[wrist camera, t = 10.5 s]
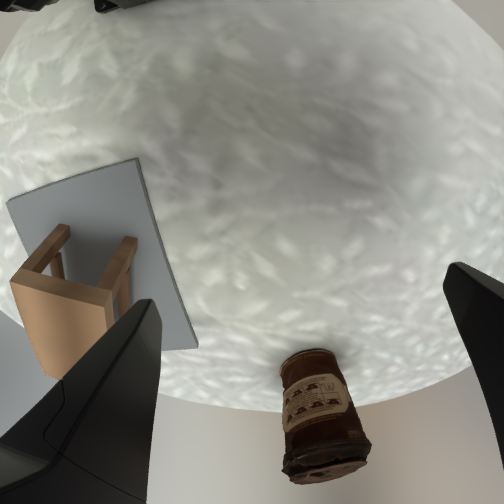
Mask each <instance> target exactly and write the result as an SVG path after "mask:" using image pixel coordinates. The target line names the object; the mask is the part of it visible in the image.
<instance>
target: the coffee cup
mask: <svg viewBox="0 0 504 504" xmlns="http://www.w3.org/2000/svg"><path fill="white" fill-rule="evenodd" d="M279 374H280V376H281V378H282V382H283V387H284V388H285V390H284V392H283V414H282V424H283V430H284V432H285V446H286V448H285V452H286V453H285V455H284V459H283V469H282V472H283V473H285V474H286V475H288V476H289V478H290V481H291V482H294V483H295V484H301V485H303V484H312V483H321V482H325V481H329V480H333V479H336V478H340V477H342V476H345V475H347V474H349V473H352V472H355V471H356V470H358V468H361V467H363V466H364V465H366V464H367V462H366V458H367V455H368V454H369V452H370V450H371V446H372V444H371V443H370V441H369V440H368V439H367V438H366V435H365V433H364V431H363V428H362V425H361V422H360V419H359V417H358V414H357V412H356V409H355V407H354V404H353V401H352V399H351V396H350V394H349V392H348V388H347V384H346V381H345V379H344V377H343V375H342V373H341V371H340V369H339V367H338V364H337V362H336V358H335V356H334V354H333V353H331V352H328V351H324V350H312V351H307V352H303V353H300V354H297V355H295V356H294V357H292V358H290V359H289V360H287V361H286V362H285V363H284V364H283V365H282V367H281V370H280V372H279Z"/></svg>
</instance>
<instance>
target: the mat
mask: <svg viewBox="0 0 504 504" xmlns="http://www.w3.org/2000/svg"><path fill="white" fill-rule="evenodd" d="M6 206H7V208H8V211H9V213H10V216H11V218H12V221H13V223H14V225H15V228H16V230H17V232H18V235H19V237H20V239H21V241H22V243H23V246H24V248H25V250H26V252H27V254H28V256H30V255H31V254H32V253H33V252H34V251H35V249H36V248H37V247H38V246H39V245H40V244H41V243H42V242H43V240H44V239H45V238H46V237H47V236H48V235H49V234H50V233H51V232H52V231H53V230H54V229H55V227H56V226H57V225H58V224H59V223H60V224H65V225H70V236H71V237H70V238H69V239H68V240H67V241H66V243H65V244H64V245H63V246H62V248H61V249H60V250H59V251H58V252H61V254H62V262H63V269H64V275H65V280H68V281H72V282H76V283H80V284H84V285H89V286H93V287H96V286H97V284H98V283H99V281H100V279H101V277H102V275H103V273H104V272H105V270H106V268H107V266H108V264H109V263H110V261H111V259H112V257H113V256H114V254H115V252H116V250H117V249H118V247H119V245H120V244H121V242H122V240H123V239H124V237H125V236H129V237H135V238H138V246H137V251H136V253H135V255H134V258H133V260H132V262H131V264H130V266H129V267H130V304H131V307H132V306H133V305H134V304H135V303H136V302H137V301H138V300H139V299H149V298H151V299H153V300H154V302H155V304H156V306H157V309H158V312H159V314H160V317H161V319H162V326H163V327H162V346H161V351H166V350H181V349H195V348H198V341H197V339H196V336H195V334H194V331H193V329H192V326H191V323H190V321H189V318H188V316H187V313H186V310H185V308H184V305H183V302H182V300H181V297H180V294H179V291H178V289H177V286H176V283H175V280H174V277H173V274H172V271H171V269H170V266H169V263H168V260H167V257H166V254H165V251H164V248H163V245H162V241H161V238H160V235H159V232H158V229H157V226H156V222H155V219H154V216H153V212H152V209H151V206H150V202H149V199H148V195H147V192H146V188H145V185H144V181H143V177H142V174H141V170H140V166H139V162H138V158H136V159H132V160H128V161H124V162H120V163H117V164H113V165H110V166H106V167H102V168H99V169H96V170H92V171H89V172H86V173H82V174H79V175H76V176H73V177H70V178H67V179H64V180H61V181H58V182H55V183H52V184H49V185H47V186H44V187H41V188H38V189H36V190H33V191H30V192H28V193H25V194H23V195H20V196H18V197H15V198H13V199H10V200H8V201H7V202H6ZM41 274H44V275H48V276H52V275H51V270H50V264H48V265H47V267H46V268H45V269H44V271H43V272H42V273H41ZM113 315H114V323H115V322H116V321H117V320H118V319H119V311H118V295H117V294H116V297H115V299H114V301H113Z"/></svg>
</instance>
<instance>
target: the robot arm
mask: <svg viewBox="0 0 504 504" xmlns="http://www.w3.org/2000/svg"><path fill="white" fill-rule="evenodd" d="M58 1H59V0H0V11H3V12H15V11H19V10H22V11H29V12H35V11H40V10H41V9H42V8H43V7H44V6H45V5H50V4H54V3H57V2H58ZM147 1H150V0H94V4H95V10H96V11H97V12H98V13H102V14H103V13H106V12H109V11H111V10H114V9H117V8H119V7H122V8H124V9H125V8H128V7H131V6H134V5H137V4H141V3H144V2H147ZM103 4H105V7H104V8H103V9H101V6H102V5H103ZM443 291H444V294H445V296H446V299H447V301H448V304H449V306H450V309H451V312H452V315H453V317H454V320H455V323H456V326H457V328H458V331H459V333H460V336H461V338H462V340H463V342H464V345H465V347H466V349H467V352H468V354H469V357H470V359H471V362H472V364H473V367H474V369H475V372H476V375H477V377H478V380H479V382H480V385H481V388H482V391H483V394H484V397H485V400H486V403H487V406H488V409H489V413H490V416H491V419H492V423H493V426H494V430H495V433H496V438H497V442H498V446H499V450H500V455H501V459H502V464H503V469H504V283H502V282H500V281H498V280H496V279H494V278H492V277H490V276H488V275H487V274H485V273H483V272H481V271H479V270H477V269H475V268H473V267H471V266H469V265H467V264H465V263H463V262H454V263H451V264H450V265H449V267H448V270H447V273H446V276H445V279H444V282H443ZM162 327H163V326H162V319H161V317H160V314H159V312H158V309H157V306H156V304H155V302H154V300H153V299H151V298H149V299H139V300H138V301H137V302H136V303H135V304H134V305H133V306H132V307H131V308H129V309H128V310H127V311H126V312H125V313H124V314H123V315H122V316H121V317H120V318H119V319H118V320H117V321H116V322H115V323H114V324H113V325H112V326H111V327H110V328H109V329H108V330H107V331H106V332H105V333H104V334H103V335H102V336H101V337H100V338H99V339H98V341H97V342H96V343H95V344H94V345H93V346H92V347H91V348H90V349H89V350H88V351H87V352H86V353H85V354H84V355H83V356H82V357H81V358H80V359H79V360H78V361H77V362H76V363H75V364H74V365H73V366H72V367H71V369H70V370H69V371H68V372H67V373H66V374H65V375H64V376H63V377H62V379H60V380H59V381H58V382H57V383H56V384H55V386H54V387H53V388H52V389H51V390H50V391H49V392H48V393H47V394H46V395H45V396H44V397H43V398H42V399H41V400H40V401H39V402H38V403H37V404H36V405H35V406H34V407H33V408H32V409H31V410H30V411H29V412H28V413H26V414H25V415H24V416H23V417H22V418H21V419H20V420H19V421H18V422H17V423H16V424H15V425H14V426H12V427H11V428H10V429H9V430H8V431H7V432H6V433H5V434H4V435H3V436H2V437H1V438H0V504H146V500H147V485H148V472H149V471H148V470H149V460H150V450H151V441H152V432H153V424H154V416H155V415H154V414H155V408H156V400H157V393H158V386H159V379H160V369H161V346H162Z"/></svg>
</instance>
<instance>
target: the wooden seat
mask: <svg viewBox="0 0 504 504" xmlns="http://www.w3.org/2000/svg"><path fill="white" fill-rule="evenodd" d="M70 237H71V236H70V225H65V224H60V223H59V224H58V225H57V226H56V227H55V229H54V230H53V231H52V232H51V233H50V234H49V235H48V236H47V237H46V238H45V239H44V240H43V242H42V243H41V244H40V245H39V246H38V247H37V248H36V249H35V251H34V252H33V253H32V254H31V255H30V256H29V258H28V259H27V260H26V261H25V262H24V263H23V265H22V266H21V267H20V268H19V270H18V271H17V272H16V273H15V275H14V276H13V277H12V278H11V280H10V281H9V282H10V286H11V289H12V292H13V295H14V299H15V302H16V305H17V308H18V311H19V314H20V316H21V319H22V322H23V325H24V327H25V330H26V333H27V335H28V338H29V340H30V343H31V345H32V347H33V350H34V352H35V354H36V357H37V359H38V361H39V363H40V365H41V368H42V369H43V372H44V374H45V375H47V376H50V377H52V378H55V379H58V380H60V379H62V377H63V376H64V375H65V374H66V373H67V372H68V371H69V370H70V369H71V367H72V366H73V365H74V364H75V363H76V362H77V361H78V360H79V359H80V358H81V357H82V356H83V355H84V354H85V353H86V352H87V351H88V350H89V349H90V348H91V347H92V346H93V345H94V344H95V343H96V342H97V341H98V339H99V338H100V337H101V336H102V335H103V334H104V333H105V332H106V331H107V330H108V329H109V328H110V327H111V326H112V325H113V324H114V315H113V301H114V299H115V297H116V294H117V295H118V311H119V318H120V317H121V316H122V315H123V314H124V313H125V312H126V311H127V310H128V309H129V308H131V304H130V267H129V266H130V264H131V262H132V260H133V258H134V255H135V253H136V251H137V246H138V238H135V237H129V236H125V237H124V239H123V240H122V242H121V244H120V245H119V247H118V249H117V250H116V252H115V254H114V256H113V257H112V259H111V261H110V263H109V264H108V266H107V268H106V270H105V272H104V273H103V275H102V277H101V279H100V281H99V283H98V284H97V286H96V287H93V286H89V285H84V284H80V283H76V282H72V281H68V280H65V275H64V269H63V262H62V254H61V252H58V251H59V250H60V249H61V248H62V246H63V245H64V244H65V243H66V241H67V240H68V239H69V238H70ZM48 264H50V270H51V275H52V276H48V275H44V274H41V273H42V272H43V271H44V269H45V268H46V267H47V265H48Z"/></svg>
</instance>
